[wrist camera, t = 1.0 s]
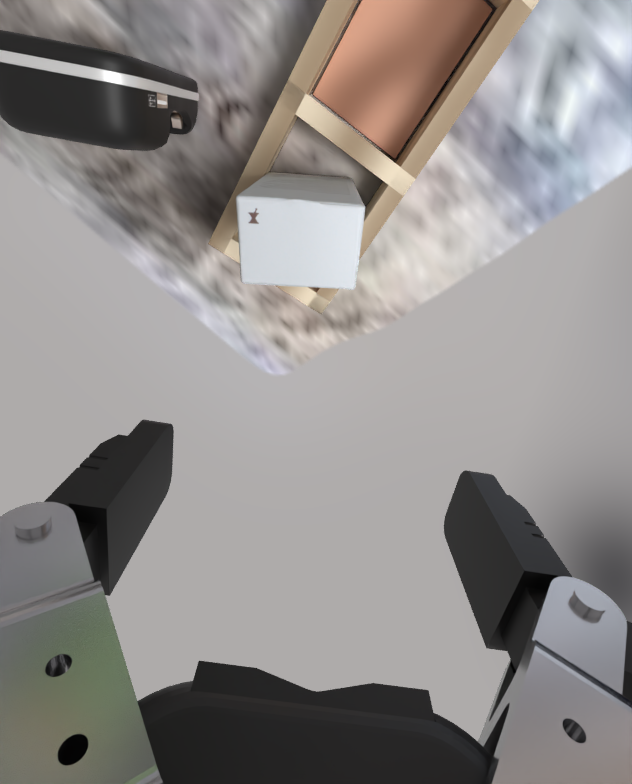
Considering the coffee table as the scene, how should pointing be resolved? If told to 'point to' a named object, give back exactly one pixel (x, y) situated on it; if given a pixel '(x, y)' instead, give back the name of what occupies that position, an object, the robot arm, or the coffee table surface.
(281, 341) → the coffee table surface
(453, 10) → the slot organizer
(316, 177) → the skincare box
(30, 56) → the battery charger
